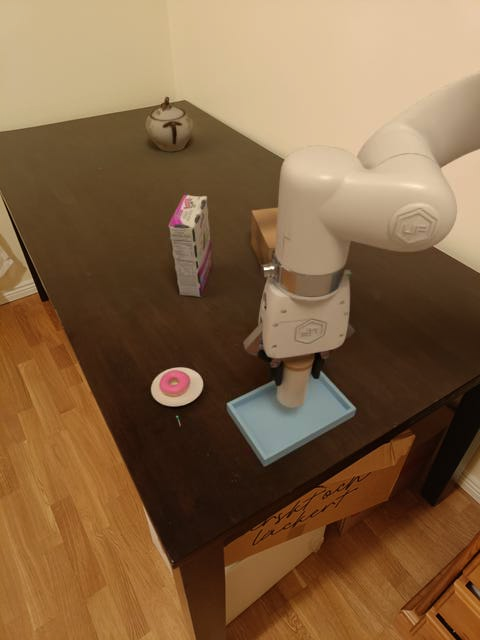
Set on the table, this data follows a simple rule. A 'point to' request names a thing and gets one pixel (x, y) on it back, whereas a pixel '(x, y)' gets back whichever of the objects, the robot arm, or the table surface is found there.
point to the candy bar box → (191, 245)
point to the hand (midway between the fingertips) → (294, 373)
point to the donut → (177, 387)
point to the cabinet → (264, 234)
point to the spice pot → (295, 380)
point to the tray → (288, 417)
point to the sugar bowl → (169, 127)
